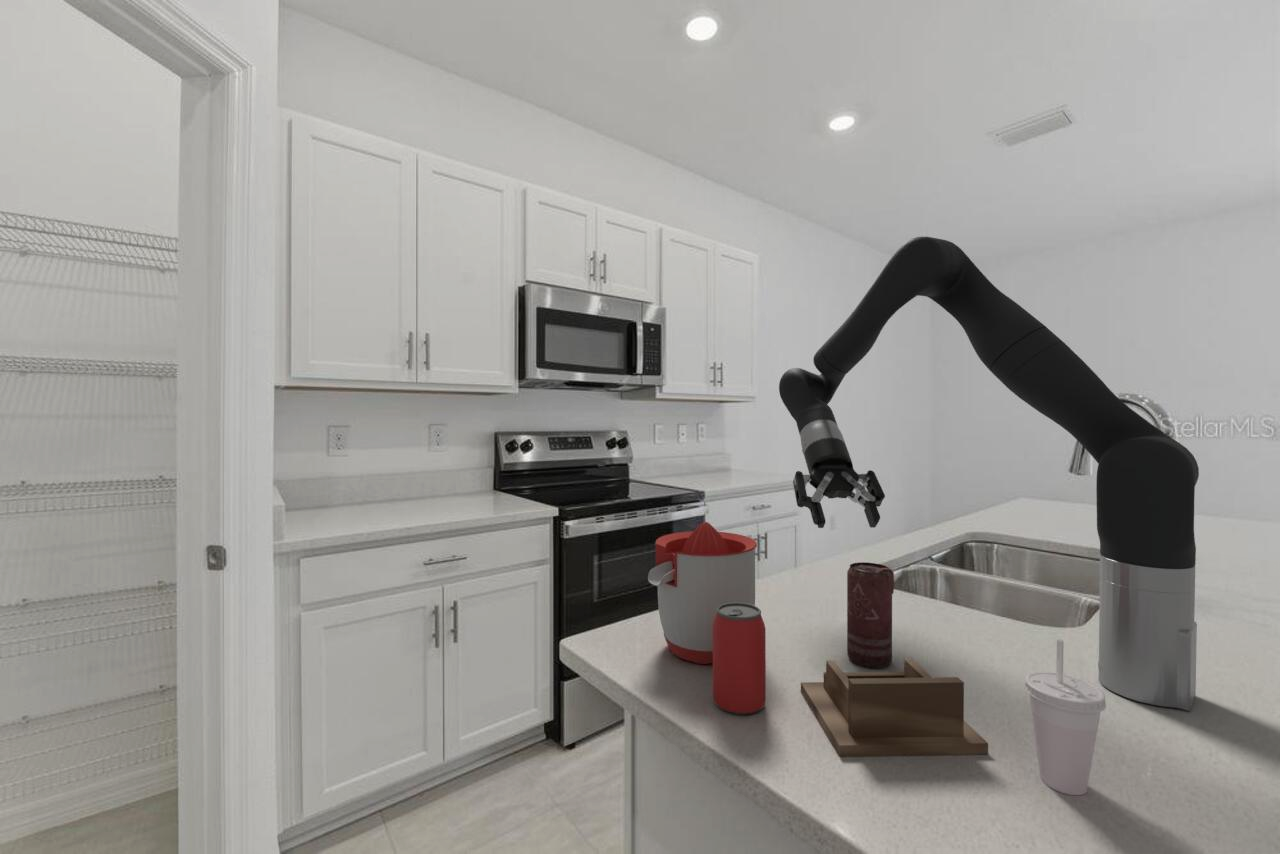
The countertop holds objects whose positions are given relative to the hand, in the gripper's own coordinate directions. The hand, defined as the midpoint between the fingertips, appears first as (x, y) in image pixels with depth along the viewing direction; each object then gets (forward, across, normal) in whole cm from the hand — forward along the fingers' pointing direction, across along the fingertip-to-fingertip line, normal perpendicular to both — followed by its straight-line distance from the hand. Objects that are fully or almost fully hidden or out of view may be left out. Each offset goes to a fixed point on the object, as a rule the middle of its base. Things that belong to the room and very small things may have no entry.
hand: (848, 525), depth 92 cm
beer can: (+28, -22, -1) cm, 35 cm away
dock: (+30, -5, -4) cm, 31 cm away
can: (+19, 0, +7) cm, 20 cm away
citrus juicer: (+16, -25, +10) cm, 31 cm away
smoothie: (+39, +8, -12) cm, 42 cm away
